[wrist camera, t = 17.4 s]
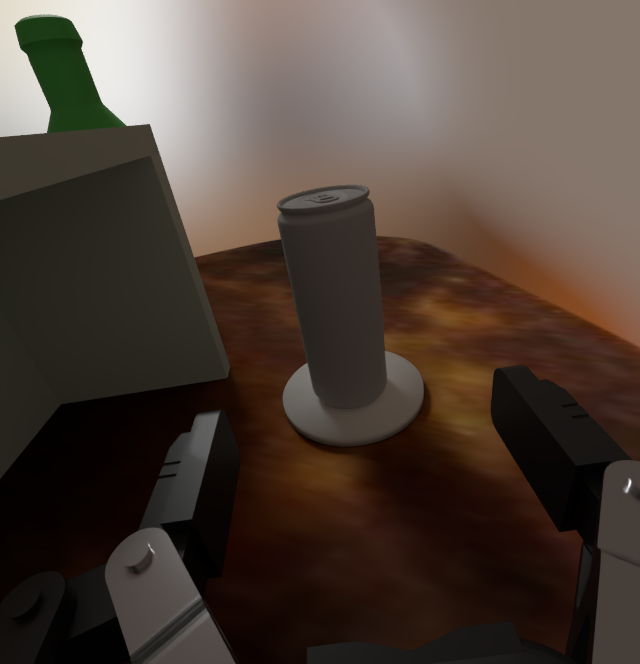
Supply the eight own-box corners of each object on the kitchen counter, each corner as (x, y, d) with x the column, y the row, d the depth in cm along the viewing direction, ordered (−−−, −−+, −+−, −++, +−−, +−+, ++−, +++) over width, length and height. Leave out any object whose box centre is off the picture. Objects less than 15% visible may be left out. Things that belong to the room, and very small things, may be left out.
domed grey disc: (398, 464, 20) (397, 456, 20) (257, 425, 24) (255, 418, 24) (438, 364, 27) (438, 357, 26) (322, 348, 31) (321, 341, 30)
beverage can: (366, 358, 28) (344, 180, 22) (404, 395, 24) (391, 189, 18) (303, 381, 26) (262, 200, 20) (332, 425, 22) (292, 215, 16)
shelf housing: (176, 568, 17) (-84, 144, 9) (-137, 612, 18) (-667, 252, 9) (230, 366, 30) (149, 124, 22) (52, 394, 31) (-92, 168, 23)
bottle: (213, 316, 39) (108, -2, 27) (123, 349, 36) (-44, 6, 24) (193, 291, 46) (101, 30, 34) (116, 317, 43) (-17, 39, 30)
